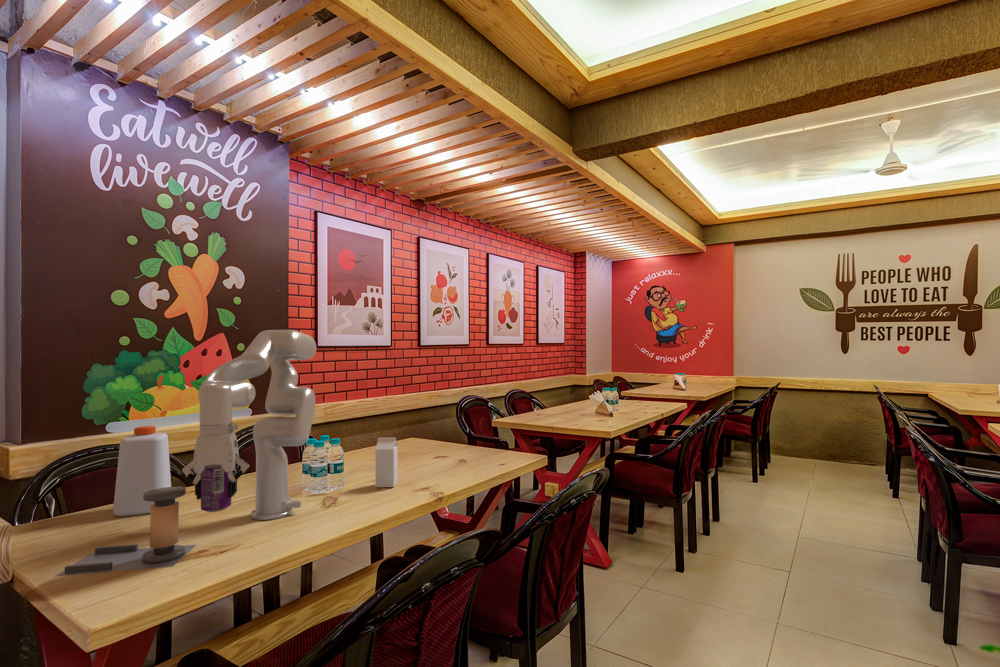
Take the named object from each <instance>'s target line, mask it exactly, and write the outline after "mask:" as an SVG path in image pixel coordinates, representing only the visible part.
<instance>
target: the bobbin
mask: <svg viewBox="0 0 1000 667" xmlns="http://www.w3.org/2000/svg"><path fill="white" fill-rule="evenodd" d="M186 489H187V488H186V487H184V486H171V487H166V488H159V489H155V490H151V491H148V492H146V493H144V494H143V500H144V501H154V504H152V505H151V506H150V518H149V548H154V549H152V550H149V551H147V552H145V553H144V554H143V555H142V562H143V563H146V564H158V563H164V562H168V561H172V560H175V559H177V558H179V557H181V556H183V555H184V554H185V547H184V545H181V544H178V543H179V513H180V512H179V510H180V509H179V507H180V504H179V501H178V500H176V499H177V498H181V497H183V496H185V495H186V493H187V490H186Z"/></svg>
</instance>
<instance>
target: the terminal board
mask: <svg viewBox="0 0 1000 667" xmlns="http://www.w3.org/2000/svg"><path fill="white" fill-rule="evenodd" d="M183 546H184V547H185V554H184V555H183V556H181V557H179V558H177V559H175V560H172V561H168V562H164V563H158V564H146V563H143V562H142V555H143V554H144V553H145V552H147V551H149V550H152V549H154V548H151V547H145V548H139V543H135V544H134V543H133V544H121V545H106V546H105V545H104V546H97V547H95V548H94V551H92V552H90V553H89V554H87V555H86V556H84V557H83V558H81V559H79V560H78V561H77V562H75V563H73V564H70V565H66V566H65V567H64V570H62V571H60V572H59V573H57V574H55V575H54V577H57V576H59V577H60V576H70V575H81V574H82V575H84V574H85V575H86V574H94V573H95V574H96V573H109V572H120V571H133V570H134V571H135V570H146V569H157V568H172V567H174V566H175V565H176V564H177V563H178V562H180V561H181V560H182V559H183V558H184V557H185V556H186V555H187V554H188V553H190V552H191V550H193V549H194V548H195V547H197V544H185V545H183Z"/></svg>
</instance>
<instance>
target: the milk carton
mask: <svg viewBox="0 0 1000 667" xmlns="http://www.w3.org/2000/svg"><path fill="white" fill-rule="evenodd" d="M397 443H398V442H397V437H395V436H394V437H391V436H390V437H387V436H386V437H377V441H376V446H375V488H376V487H394V486H395V487H396V485H397V484H398V483H399V482H398V481H399V480H398V478H399V476H398V475H399V473H398V472H399V469H398V463H399V461H398V460H399V459H398V458H399V457H398V455H399V452H398V451H399V450H398V444H397ZM395 487H394V488H395Z"/></svg>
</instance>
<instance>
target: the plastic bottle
mask: <svg viewBox="0 0 1000 667" xmlns="http://www.w3.org/2000/svg"><path fill="white" fill-rule="evenodd" d="M156 429H157V427H156V426H154V425H145V426H144V425H143V426H136V427H134V429H133V434H130V435H128V436H125V437H123V438H122V439H121V440H120V442H119V450H118V457H117V458H118V459H117V469H116V476H115V477H116V478H115V479H116V480H115V488H114V498H113V499H114V500H113V506H112V507H113V508H112V509H113V510H112V513H113V515H114V516H116V517H120V516H122V517H129V516H131V515H132V516H141V515H147V514H149V513H150V506H151V505H152V504H154V501H144V500H143V494H144V493H146V492H148V491H151V490H155V489H159V488H166V487H172V480H171V465H170V464H171V462H170V449H169V436H168V434H167V433H165V432H156ZM132 516H131V517H132Z"/></svg>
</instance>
